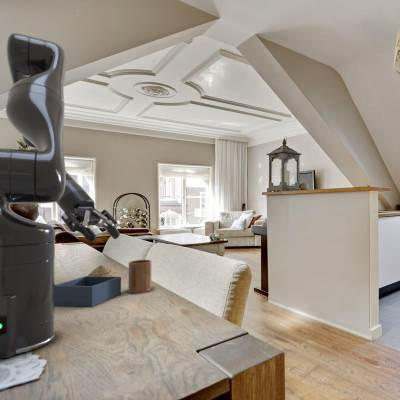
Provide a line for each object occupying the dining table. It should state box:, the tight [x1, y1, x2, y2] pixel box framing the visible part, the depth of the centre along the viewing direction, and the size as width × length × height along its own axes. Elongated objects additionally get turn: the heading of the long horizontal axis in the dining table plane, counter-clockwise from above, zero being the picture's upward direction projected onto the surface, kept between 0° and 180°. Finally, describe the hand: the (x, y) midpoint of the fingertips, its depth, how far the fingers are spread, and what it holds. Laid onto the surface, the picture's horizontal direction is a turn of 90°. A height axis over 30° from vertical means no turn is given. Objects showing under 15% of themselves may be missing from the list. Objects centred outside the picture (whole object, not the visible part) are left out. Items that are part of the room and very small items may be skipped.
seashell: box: [87, 265, 118, 277], centre depth 100 cm, size 8×6×8 cm
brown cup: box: [127, 259, 153, 294], centre depth 87 cm, size 6×6×8 cm
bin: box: [54, 275, 122, 307], centre depth 78 cm, size 10×10×5 cm
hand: (106, 238), depth 89 cm, fingers open, 8 cm apart
